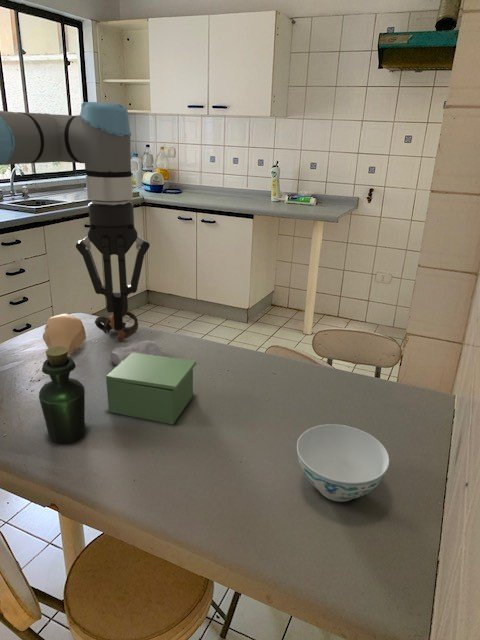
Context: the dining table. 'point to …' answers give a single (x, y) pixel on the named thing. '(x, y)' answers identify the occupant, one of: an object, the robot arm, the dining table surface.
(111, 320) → the brown curved loop piece
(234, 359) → the dining table surface
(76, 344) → the squash
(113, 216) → the robot arm
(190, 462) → the dining table surface
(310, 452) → the chinaware
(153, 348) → the stone block
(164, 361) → the chest lid
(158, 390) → the chest
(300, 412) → the dining table surface
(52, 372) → the potion bottle
